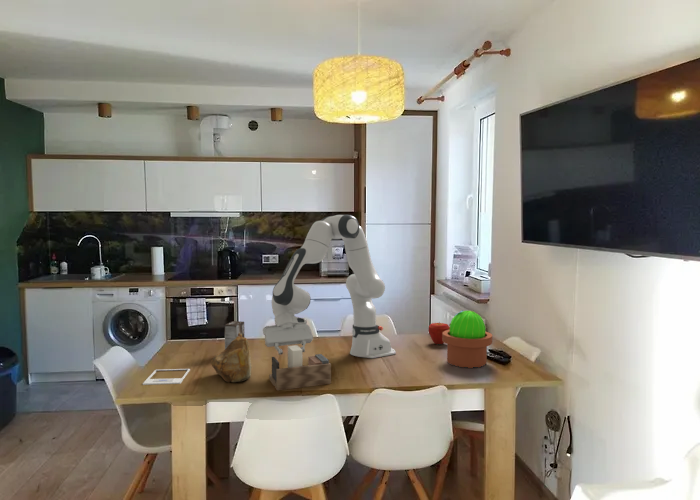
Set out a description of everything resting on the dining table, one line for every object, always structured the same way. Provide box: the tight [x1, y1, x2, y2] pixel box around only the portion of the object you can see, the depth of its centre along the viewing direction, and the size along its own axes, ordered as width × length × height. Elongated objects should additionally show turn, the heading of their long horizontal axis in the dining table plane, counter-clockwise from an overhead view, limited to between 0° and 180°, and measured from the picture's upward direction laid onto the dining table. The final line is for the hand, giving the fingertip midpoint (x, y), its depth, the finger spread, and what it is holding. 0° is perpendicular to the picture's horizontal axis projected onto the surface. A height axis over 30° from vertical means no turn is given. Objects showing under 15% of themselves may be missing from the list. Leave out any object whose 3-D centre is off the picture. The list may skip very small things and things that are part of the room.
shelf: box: [268, 353, 332, 391], centre depth 203 cm, size 22×14×10 cm, turn 111°
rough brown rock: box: [210, 336, 252, 383], centre depth 209 cm, size 23×17×15 cm
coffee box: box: [224, 320, 245, 350], centre depth 239 cm, size 9×6×16 cm
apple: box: [427, 321, 450, 345], centre depth 263 cm, size 11×11×12 cm
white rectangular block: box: [287, 344, 303, 368], centre depth 202 cm, size 4×8×12 cm, turn 21°
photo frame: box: [142, 368, 191, 386], centre depth 208 cm, size 15×1×18 cm
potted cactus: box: [442, 310, 493, 369], centre depth 229 cm, size 22×22×25 cm
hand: (292, 352), depth 207 cm, fingers open, 8 cm apart
